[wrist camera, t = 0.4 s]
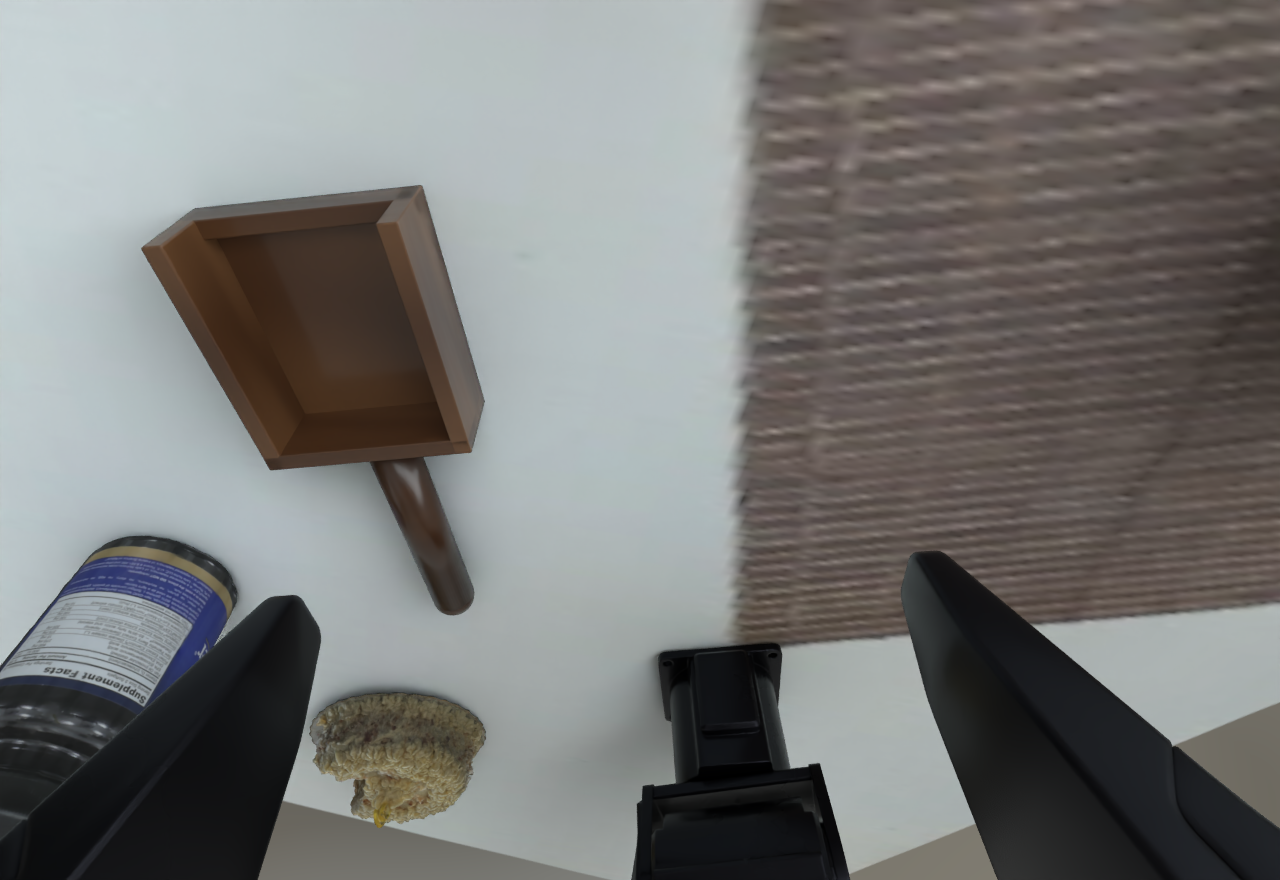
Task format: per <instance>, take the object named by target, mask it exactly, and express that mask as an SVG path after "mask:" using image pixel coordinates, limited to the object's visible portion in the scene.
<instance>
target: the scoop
mask: <svg viewBox="0 0 1280 880" xmlns="http://www.w3.org/2000/svg"><path fill="white" fill-rule="evenodd" d="M141 249H142V252H143V253H144V255H145V257H146V258H147V260H148V262H149V263H150V265H151V267H152V269H153V270H154V272H155V274H156V275H157V277H158V279H159V281H160V282H161V284H162V286H163V287H164V289H165V291H166V293H167V294H168V296H169V298H170V299H171V301H172V303H173V305H174V306H175V308H176V310H177V311H178V313H179V315H180V316H181V318H182V320H183V322H184V323H185V325H186V327H187V328H188V330H189V332H190V334H191V335H192V337H193V339H194V340H195V342H196V344H197V346H198V347H199V349H200V351H201V352H202V354H203V356H204V358H205V359H206V361H207V363H208V364H209V366H210V368H211V369H212V371H213V373H214V375H215V376H216V378H217V380H218V381H219V383H220V385H221V387H222V388H223V390H224V392H225V393H226V395H227V397H228V399H229V400H230V402H231V404H232V405H233V407H234V409H235V411H236V412H237V414H238V416H239V417H240V419H241V421H242V422H243V424H244V426H245V428H246V429H247V431H248V433H249V434H250V436H251V438H252V440H253V441H254V443H255V445H256V446H257V448H258V450H259V452H260V453H261V455H262V457H263V459H264V461H265V462H266V464H267V466H268V467H269V469H270V470H281V469H292V468H304V467H315V466H326V465H337V464H348V463H359V462H370V463H371V466H372V468H373V470H374V472H375V474H376V477H377V479H378V481H379V483H380V485H381V488H382V490H383V492H384V494H385V496H386V499H387V501H388V503H389V505H390V507H391V510H392V512H393V514H394V516H395V518H396V520H397V523H398V525H399V527H400V529H401V531H402V534H403V536H404V538H405V540H406V542H407V545H408V547H409V549H410V551H411V553H412V556H413V558H414V560H415V562H416V564H417V567H418V569H419V571H420V573H421V575H422V578H423V580H424V582H425V584H426V586H427V589H428V591H429V593H430V595H431V597H432V600H433V602H434V604H435V606H436V607H437V609H438V610H439V611H441V612H442V613H444V614H446V615H459V614H461V613H463V612H465V611H466V610H467V609H468V608H469V607H470V606H471V604H472V602H473V599H474V588H473V585H472V583H471V580H470V578H469V575H468V572H467V570H466V567H465V565H464V562H463V559H462V557H461V554H460V552H459V549H458V546H457V544H456V541H455V539H454V536H453V534H452V531H451V528H450V526H449V523H448V521H447V518H446V515H445V513H444V510H443V508H442V505H441V502H440V500H439V497H438V495H437V492H436V489H435V487H434V484H433V482H432V479H431V477H430V474H429V471H428V469H427V466H426V464H425V461H424V458H423V457H427V456H438V455H449V454H461V453H471V452H472V448H473V444H474V441H475V437H476V433H477V429H478V425H479V421H480V417H481V413H482V410H483V406H484V402H485V401H484V398H483V394H482V391H481V387H480V384H479V380H478V377H477V373H476V370H475V367H474V363H473V360H472V356H471V353H470V349H469V346H468V342H467V339H466V335H465V332H464V329H463V325H462V322H461V318H460V315H459V311H458V308H457V304H456V301H455V297H454V294H453V291H452V287H451V284H450V280H449V277H448V273H447V270H446V266H445V263H444V259H443V256H442V253H441V249H440V246H439V242H438V239H437V235H436V232H435V228H434V225H433V221H432V218H431V215H430V211H429V208H428V204H427V201H426V197H425V194H424V190H423V187H422V186H421V185H419V186H410V187H400V188H390V189H380V190H371V191H361V192H351V193H341V194H331V195H322V196H312V197H302V198H292V199H282V200H273V201H263V202H253V203H243V204H234V205H224V206H214V207H204V208H195V209H193V210H192V211H191V212H189V213H188V214H186V215H185V216H184V217H182V218H181V219H180V220H178V221H177V222H175V224H173V225H172V226H170V227H169V228H168V229H166V230H165V231H164V232H162V233H161V234H159V235H158V236H157V237H155V238H154V239H153V240H151V241H150V242H148V243H147V244H146V245H144V246H143V247H142V248H141Z"/></svg>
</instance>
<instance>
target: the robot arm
mask: <svg viewBox="0 0 1280 880" xmlns="http://www.w3.org/2000/svg"><path fill="white" fill-rule="evenodd" d="M901 601H902V606H903V609H904V613H905V617H906V621H907V624H908V628H909V632H910V636H911V639H912V643H913V647H914V651H915V654H916V658H917V662H918V666H919V669H920V673H921V677H922V681H923V684H924V688H925V691H926V695H927V698H928V702H929V704H930V707H931V710H932V713H933V716H934V718H935V721H936V723H937V726H938V728H939V731H940V734H941V736H942V739H943V741H944V744H945V746H946V749H947V751H948V754H949V757H950V759H951V762H952V764H953V767H954V769H955V772H956V774H957V777H958V780H959V782H960V785H961V787H962V790H963V792H964V795H965V797H966V800H967V803H968V805H969V808H970V810H971V813H972V815H973V818H974V820H975V823H976V825H977V828H978V831H979V833H980V835H981V838H982V841H983V843H984V846H985V849H986V851H987V854H988V856H989V859H990V861H991V864H992V866H993V869H994V872H995V874H996V877H997V879H998V880H1280V828H1279V827H1277V826H1276V825H1274V824H1273V823H1272V822H1271V821H1269V820H1268V819H1267V818H1265V817H1264V816H1263V815H1261V814H1260V813H1259V812H1257V811H1256V810H1255V809H1253V808H1252V807H1251V806H1250V805H1248V804H1247V803H1246V802H1245V801H1243V800H1242V799H1241V798H1240V797H1238V796H1237V795H1236V794H1235V793H1233V792H1232V791H1231V790H1230V789H1229V788H1227V787H1226V786H1225V785H1224V784H1222V783H1221V782H1219V781H1218V780H1217V779H1216V778H1214V777H1213V776H1212V775H1211V774H1210V773H1209V772H1207V771H1206V770H1205V769H1204V768H1203V767H1201V766H1200V765H1199V764H1198V763H1197V762H1195V761H1194V760H1193V759H1192V758H1190V757H1189V756H1188V755H1187V754H1186V753H1184V752H1183V751H1182V750H1181V749H1179V748H1178V747H1176V746H1173V747H1172V744H1171V742H1170V740H1169V739H1167V738H1166V737H1165V736H1164V735H1163V734H1161V733H1160V732H1159V731H1158V730H1157V729H1155V728H1154V727H1153V726H1152V725H1151V724H1149V723H1148V722H1147V721H1146V720H1144V719H1143V718H1142V717H1141V716H1140V715H1138V714H1137V713H1136V712H1135V711H1134V710H1132V709H1131V708H1130V707H1129V706H1128V705H1126V704H1125V703H1124V702H1123V701H1122V700H1120V699H1119V698H1118V697H1117V696H1116V695H1114V694H1113V693H1112V692H1111V691H1110V690H1108V689H1107V688H1106V687H1105V686H1104V685H1102V684H1101V683H1100V682H1099V681H1098V680H1096V679H1095V678H1094V677H1093V676H1092V675H1090V674H1089V673H1088V672H1087V671H1086V670H1084V669H1083V668H1082V667H1081V666H1080V665H1078V664H1077V663H1076V662H1075V661H1074V660H1072V659H1071V658H1070V657H1069V656H1068V655H1066V654H1065V653H1064V652H1063V651H1062V650H1060V649H1059V648H1058V647H1057V646H1056V645H1054V644H1053V643H1052V642H1051V641H1050V640H1048V639H1047V638H1046V637H1045V636H1044V635H1042V634H1041V633H1040V632H1039V631H1038V630H1036V629H1035V628H1034V627H1033V626H1032V625H1030V624H1029V623H1028V622H1027V621H1026V620H1024V619H1023V618H1022V617H1021V616H1020V615H1018V614H1017V613H1016V612H1015V611H1014V610H1012V609H1011V608H1010V607H1009V606H1008V605H1006V604H1005V603H1004V602H1003V601H1002V600H1000V599H999V598H998V597H997V596H996V595H994V594H993V593H992V592H991V591H989V590H988V589H987V588H986V587H985V586H983V585H982V584H981V583H980V582H979V581H977V580H976V579H975V578H974V577H973V576H971V575H970V574H969V573H968V572H967V571H965V570H964V569H963V568H962V567H961V566H959V565H958V564H957V563H956V562H955V561H953V560H952V559H951V558H950V557H949V556H947V555H946V554H945V553H943V552H941V551H923V552H915V553H913V554H912V555H911V556H910V558H909V560H908V564H907V568H906V572H905V575H904V579H903V583H902V587H901ZM320 644H321V633H320V629H319V626H318V625H317V623H316V621H315V620H314V618H313V616H312V615H311V613H310V611H309V610H308V608H307V606H306V605H305V603H304V601H303V600H302V599H301V598H300V597H298V596H297V595H287V596H274V597H270V598H268V599H266V600H265V601H264V602H262V603H261V604H260V605H259V606H258V607H257V608H256V609H255V610H253V611H252V612H251V613H250V614H249V615H248V616H247V617H246V618H245V619H244V620H242V621H241V622H240V623H239V624H238V625H237V626H236V627H235V628H234V629H232V630H231V631H230V632H229V633H228V634H227V635H226V636H225V637H224V638H223V639H221V640H220V641H219V642H218V643H217V644H216V645H215V646H214V647H213V648H211V649H210V650H209V651H208V652H207V653H206V654H205V655H204V656H203V657H202V658H200V659H199V660H198V661H197V662H196V663H195V664H194V665H193V666H192V667H190V668H189V669H188V670H187V671H186V672H185V673H184V674H183V675H182V676H181V677H179V678H178V679H177V680H176V681H175V682H174V683H173V684H172V685H171V686H169V687H168V688H167V689H166V690H165V691H164V692H163V693H162V694H161V695H160V696H158V697H157V698H156V699H155V700H154V701H153V702H152V703H151V704H150V705H148V706H147V707H146V708H145V709H144V710H143V711H142V712H141V713H140V714H139V715H137V716H136V717H135V718H134V719H133V720H132V721H131V722H130V723H129V724H127V725H126V726H125V727H124V728H123V729H122V730H121V731H120V732H119V733H118V734H116V735H115V736H114V737H113V738H112V739H111V740H110V741H109V742H108V743H106V744H105V745H104V746H103V747H102V748H101V749H100V750H99V751H98V752H97V753H95V754H94V755H93V756H92V757H91V758H90V759H89V760H88V761H87V762H85V763H84V764H83V765H82V766H81V767H80V768H79V769H78V770H77V771H76V772H74V773H73V774H72V775H71V776H70V777H69V778H68V779H67V780H66V781H64V782H63V783H62V784H61V785H60V786H59V787H58V788H57V789H56V790H55V791H53V792H52V793H51V794H50V795H49V796H48V797H47V798H46V799H45V800H43V801H42V802H41V803H40V804H39V805H38V806H37V807H36V808H35V809H34V810H32V811H31V812H30V814H29V816H28V818H26V819H23V820H21V821H20V822H19V823H18V824H17V825H16V826H14V827H13V828H12V829H11V830H10V831H9V832H8V833H7V834H6V835H5V836H3V837H2V838H1V839H0V880H258V877H259V873H260V870H261V867H262V864H263V861H264V857H265V854H266V851H267V848H268V845H269V841H270V838H271V835H272V832H273V829H274V826H275V822H276V819H277V816H278V813H279V810H280V807H281V803H282V800H283V797H284V794H285V791H286V788H287V784H288V781H289V778H290V775H291V772H292V769H293V765H294V762H295V759H296V756H297V752H298V749H299V745H300V742H301V737H302V733H303V729H304V724H305V719H306V714H307V709H308V704H309V699H310V694H311V689H312V684H313V679H314V674H315V669H316V664H317V659H318V655H319V650H320ZM781 663H782V652H781V648H780V646H779V645H778V644H773V643H771V644H758V645H745V646H733V647H720V648H708V649H695V650H682V651H670V652H663V653H661V654H660V655H659V656H658V664H659V672H660V680H661V688H662V696H663V704H664V712H665V718H666V720H667V721H670V722H671V723H672V737H673V751H674V765H675V778H676V784H669V785H661V786H654V784H653V785H645V786H643V789H642V801H640V802H639V803H637V828H638V835H637V847H636V854H635V860H634V866H633V872H632V879H631V880H850V877H849V872H848V868H847V864H846V859H845V855H844V851H843V847H842V843H841V840H840V836H839V832H838V829H837V825H836V821H835V818H834V814H833V810H832V807H831V803H830V799H829V796H828V792H827V788H826V785H825V781H824V777H823V774H822V770H821V766H820V763H816V764H809V767H801V768H793V769H791V768H790V764H789V759H788V754H787V749H786V744H785V739H784V734H783V730H782V725H781V720H780V715H779V710H778V701H779V688H780V675H781Z"/></svg>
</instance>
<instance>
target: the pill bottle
mask: <svg viewBox="0 0 1280 880" xmlns="http://www.w3.org/2000/svg"><path fill="white" fill-rule="evenodd" d="M236 601H237V592H236V589H235V587H234V585H233V584H232V578H231V576H230V575H229V573H228V572H227V570H226V569H225V568H224V567H223V566H222V565H221V564H219V563H218V562H217V561H215V560H214V559H213V558H212V557H210V556H209V555H207V554H205V553H202V552H200V551H198V550H196V549H195V548H193V547H191V546H188V545H186V544H182V543H180V542H177V541H173V540H170V539H164V538H157V537H151V536H133V537H125V538H120V539H117V540H114V541H111V542H109V543H107V544H105V545H103V546H102V547H101V548H99V549H98V550H96V551H95V552H93V553H92V554H91V555H90V556H89V557H88V559H87V560H86V561H85V562H84V563H83V565H82V566H81V567H80V568H79V570H78V571H77V572H76V573H75V574H74V575H73V577H72V579H71V580H70V581H69V582H68V583H67V584H66V585H65V586H64V587H63V589H62V590H61V591H60V593H59V594H58V596H57V597H56V598H55V600H54V601H53V602H52V603H51V604H50V605H49V606H48V608H47V609H46V610H45V612H44V613H43V614H42V615H41V617H40V618H39V619H38V620H37V622H36V623H35V625H34V626H33V627H32V628H31V629H30V630H29V631H28V632H27V634H26V635H25V636H24V637H23V639H22V640H21V641H20V643H19V644H18V645H17V646H16V648H15V649H14V650H13V651H12V652H11V653H10V655H9V656H8V657H7V659H6V660H5V661H4V662H3V664H2V665H1V666H0V839H1V838H2V837H3V836H5V835H6V834H7V833H8V832H9V831H10V830H11V829H12V828H13V827H14V826H16V825H17V824H18V823H19V822H20V821H21V820H23V819H26V818H28V816H29V814H30V812H31V811H32V810H34V809H35V808H36V807H37V806H38V805H39V804H40V803H41V802H42V801H43V800H45V799H46V798H47V797H48V796H49V795H50V794H51V793H52V792H53V791H55V790H56V789H57V788H58V787H59V786H60V785H61V784H62V783H63V782H64V781H66V780H67V779H68V778H69V777H70V776H71V775H72V774H73V773H74V772H76V771H77V770H78V769H79V768H80V767H81V766H82V765H83V764H84V763H85V762H87V761H88V760H89V759H90V758H91V757H92V756H93V755H94V754H95V753H97V752H98V751H99V750H100V749H101V748H102V747H103V746H104V745H105V744H106V743H108V742H109V741H110V740H111V739H112V738H113V737H114V736H115V735H116V734H118V733H119V732H120V731H121V730H122V729H123V728H124V727H125V726H126V725H127V724H129V723H130V722H131V721H132V720H133V719H134V718H135V717H136V716H137V715H139V714H140V713H141V712H142V711H143V710H144V709H145V708H146V707H147V706H148V705H150V704H151V703H152V702H153V701H154V700H155V699H156V698H157V697H158V696H160V695H161V694H162V693H163V692H164V691H165V690H166V689H167V688H168V687H169V686H171V685H172V684H173V683H174V682H175V681H176V680H177V679H178V678H179V677H181V676H182V675H183V674H184V673H185V672H186V671H187V670H188V669H189V668H190V667H192V666H193V665H194V664H195V663H196V662H197V661H198V660H199V659H200V658H202V657H203V656H204V655H205V654H206V653H207V652H208V651H209V650H210V649H211V648H213V647H214V645H215V643H216V641H217V639H218V637H219V635H220V634H221V632H222V630H223V628H224V626H225V624H226V622H227V620H228V618H229V617H230V615H231V613H232V611H233V609H234V607H235V604H236Z"/></svg>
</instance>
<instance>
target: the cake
mask: <svg viewBox="0 0 1280 880" xmlns="http://www.w3.org/2000/svg"><path fill="white" fill-rule="evenodd" d="M310 730H311V732H310V733H309V734H310V736H311V737H312V742H313V743H314V744H315V745H316V746H317V749H316V752H317V754H316V756H315V758H314V759H313V763H315V764H316V766H317V767H318V768H319V770H320V772H321V774H327V773H330V775H333V776H335V778H336V781H339V782H342V781H345V780H347V779H351V778H353V779H355V780H354V784H353V786H354V787H355V796H354V797H353V800H352V802H351V804H350V806H351V812H352V814H353V815H358V816H359V817H361V818H362V819H364V818H365V819H367V818H369V817H370V818H374V822H375V824H376V825H377V827H378V828H381V827H382V826H383V825H384V824H385V823H386V822H387V823H389V822H390V821H391V820H392V821H396V822H397V823H399V824H402V823H403V822H404V821H406V822H409V820H410V819H411V820H413V819H418V818H420V819H424V818H425V817H427V816H428V815H429V814H432V815H435V814H436V813H439V812H443V811H446V809H447V808H448V807H449V806H450V805H454V802H455V801H457V799H458V798H459V797H460V795H462V794H461V793H462V792H464V791H465V789H466V787H467V784H468V782H469V780H470V779H471V777H468V776H469V775H473V768H472V766H471V763H473V761H472V759H473V758H474V757H475V756H476V754H477V752H478V751H479V749H480V748H481V747H482V746H483V744H484V742H483V741H484V740H485V739H486V737H485V736H484V735H485V729H484V728H483V724H482V723H481V722H480V721H479V720H478V718H477V717H474V715H472V714H471V713H470V711H469V710H465V709H463V708H462V707H460V706H459V705H457V704H453V703H450V702H448V701H447V700H441V699H437V698H436V697H433V696H427V697H426V696H422V695H418V694H417V695H416V694H409V695H408V694H406V693H400V694H399V693H392V694H390V693H389V694H388V693H386V694H384V693H382V694H381V693H378V694H374V695H373V694H371V695H370V694H369V695H368V694H367V695H366V694H365V695H362V696H360V697H359V696H358V697H354V696H353V697H350V698H348V699H345V700H342V701H341V700H340V701H338V702H336V703H335V704H333V705H330V706H328V707H326V709H324V711H321V712H319V714H318V716H317V717H316V718H314V719H313V723H312V725H311V726H310Z"/></svg>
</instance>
